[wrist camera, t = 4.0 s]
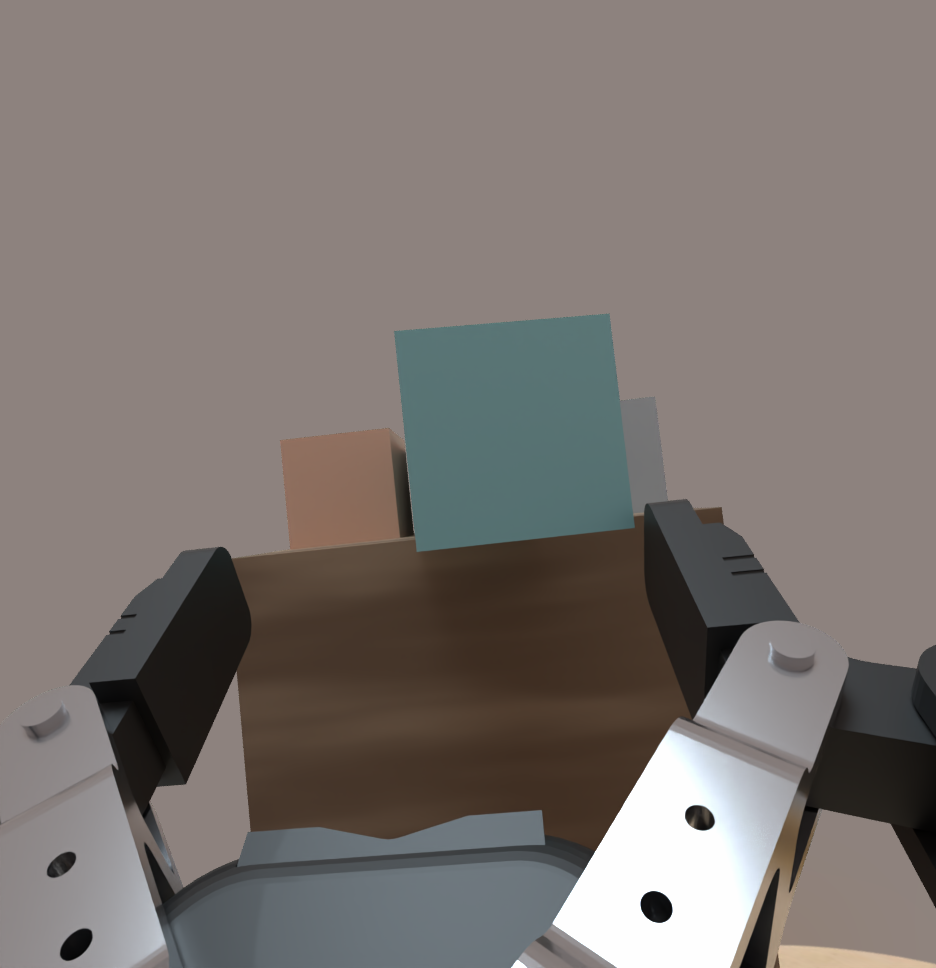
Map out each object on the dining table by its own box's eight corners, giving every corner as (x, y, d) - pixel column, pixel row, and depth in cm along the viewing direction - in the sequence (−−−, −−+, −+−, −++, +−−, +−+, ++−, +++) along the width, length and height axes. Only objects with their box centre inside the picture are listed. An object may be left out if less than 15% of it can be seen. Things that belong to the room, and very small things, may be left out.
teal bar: (635, 528, 12) (609, 313, 12) (416, 551, 12) (393, 331, 12) (488, 525, 36) (481, 452, 36) (415, 533, 36) (407, 459, 36)
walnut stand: (861, 1612, 19) (721, 507, 21) (318, 1610, 20) (227, 559, 22) (709, 1130, 34) (635, 510, 36) (402, 1143, 35) (344, 540, 37)
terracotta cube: (399, 537, 27) (388, 427, 27) (290, 549, 27) (280, 440, 27) (413, 534, 31) (404, 440, 32) (319, 544, 31) (310, 450, 32)
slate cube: (669, 509, 26) (655, 396, 26) (554, 521, 26) (541, 409, 27) (646, 510, 30) (634, 413, 31) (548, 520, 31) (537, 424, 31)
